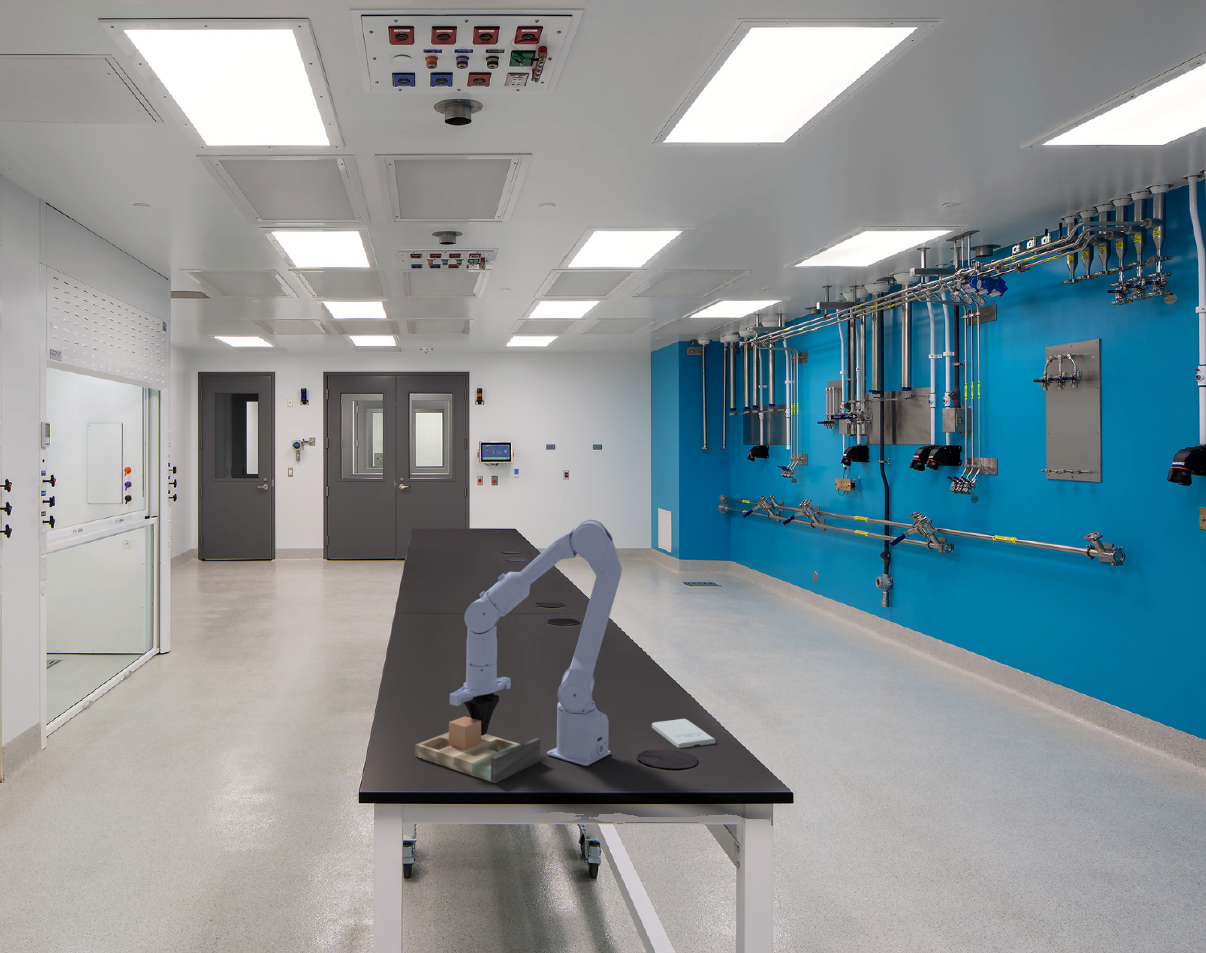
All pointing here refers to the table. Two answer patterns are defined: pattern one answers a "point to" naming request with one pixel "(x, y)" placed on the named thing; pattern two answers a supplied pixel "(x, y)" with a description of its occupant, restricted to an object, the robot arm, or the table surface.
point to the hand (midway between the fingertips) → (480, 733)
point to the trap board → (481, 756)
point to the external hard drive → (682, 733)
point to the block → (464, 732)
